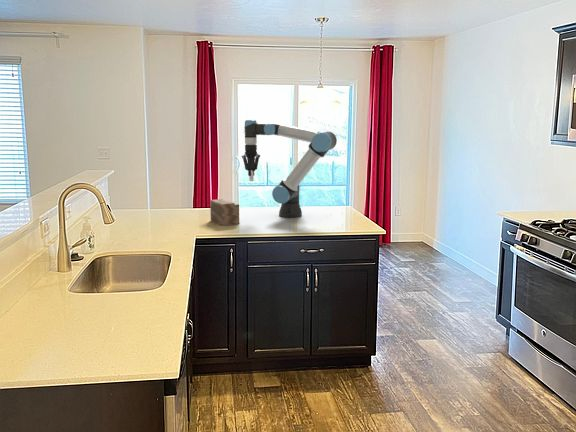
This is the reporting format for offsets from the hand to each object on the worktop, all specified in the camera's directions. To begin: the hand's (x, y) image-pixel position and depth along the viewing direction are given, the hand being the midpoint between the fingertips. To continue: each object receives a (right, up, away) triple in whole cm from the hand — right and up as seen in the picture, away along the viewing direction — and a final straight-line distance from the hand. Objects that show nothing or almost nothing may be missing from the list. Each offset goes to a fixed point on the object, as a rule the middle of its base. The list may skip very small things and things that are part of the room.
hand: (251, 180), depth 376 cm
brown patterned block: (-16, -27, -15) cm, 34 cm away
